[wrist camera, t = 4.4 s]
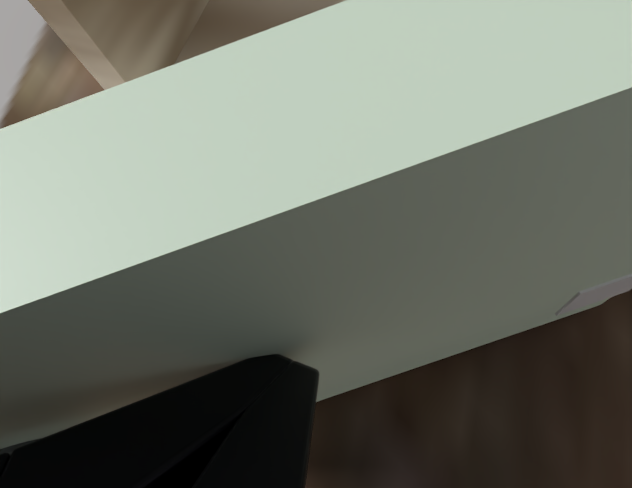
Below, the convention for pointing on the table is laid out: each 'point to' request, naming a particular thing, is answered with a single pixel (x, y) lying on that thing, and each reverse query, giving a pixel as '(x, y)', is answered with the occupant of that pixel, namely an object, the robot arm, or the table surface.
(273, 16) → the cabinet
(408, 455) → the table surface
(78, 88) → the table surface
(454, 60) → the door
